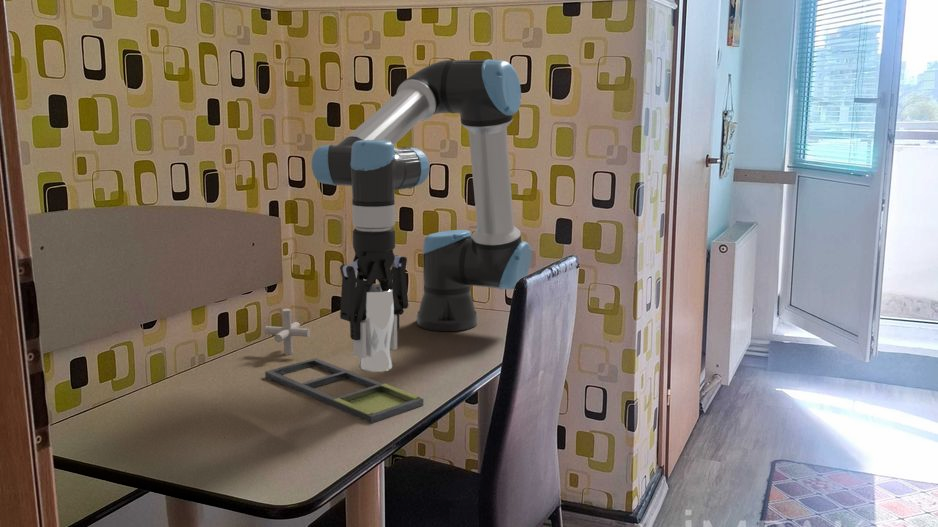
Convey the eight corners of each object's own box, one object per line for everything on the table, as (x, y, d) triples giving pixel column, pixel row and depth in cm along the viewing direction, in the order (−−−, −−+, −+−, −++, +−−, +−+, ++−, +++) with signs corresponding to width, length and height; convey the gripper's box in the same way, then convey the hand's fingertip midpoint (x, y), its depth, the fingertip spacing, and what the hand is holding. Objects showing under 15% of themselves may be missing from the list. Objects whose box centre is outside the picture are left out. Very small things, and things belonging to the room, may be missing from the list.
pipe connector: (300, 362, 184) (299, 317, 182) (257, 359, 186) (255, 314, 184) (318, 348, 194) (316, 305, 192) (276, 345, 196) (274, 302, 194)
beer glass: (370, 359, 163) (369, 282, 160) (402, 365, 160) (401, 286, 157) (349, 369, 157) (347, 289, 154) (381, 375, 154) (380, 294, 151)
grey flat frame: (315, 363, 183) (315, 357, 183) (423, 405, 160) (423, 397, 160) (265, 377, 175) (265, 370, 174) (371, 423, 151) (371, 415, 151)
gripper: (401, 219, 162) (402, 337, 167) (315, 231, 149) (319, 358, 153) (428, 224, 157) (428, 345, 162) (342, 236, 144) (345, 368, 148)
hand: (375, 351), depth 158 cm, fingers closed on beer glass, 7 cm apart
